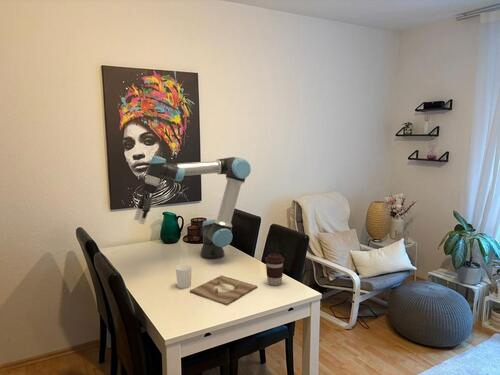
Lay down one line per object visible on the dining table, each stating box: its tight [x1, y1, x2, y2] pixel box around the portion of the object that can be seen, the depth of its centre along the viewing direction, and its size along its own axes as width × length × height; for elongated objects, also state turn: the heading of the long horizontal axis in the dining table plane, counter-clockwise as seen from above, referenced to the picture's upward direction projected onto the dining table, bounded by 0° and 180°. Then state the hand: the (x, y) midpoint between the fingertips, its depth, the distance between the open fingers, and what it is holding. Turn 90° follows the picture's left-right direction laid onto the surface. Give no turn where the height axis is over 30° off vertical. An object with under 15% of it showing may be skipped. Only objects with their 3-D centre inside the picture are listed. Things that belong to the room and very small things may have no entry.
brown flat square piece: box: [189, 275, 258, 306], centre depth 187 cm, size 24×24×3 cm
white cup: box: [175, 264, 192, 289], centre depth 191 cm, size 8×8×10 cm
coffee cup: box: [264, 253, 285, 287], centre depth 194 cm, size 10×10×15 cm
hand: (138, 222), depth 200 cm, fingers open, 13 cm apart
